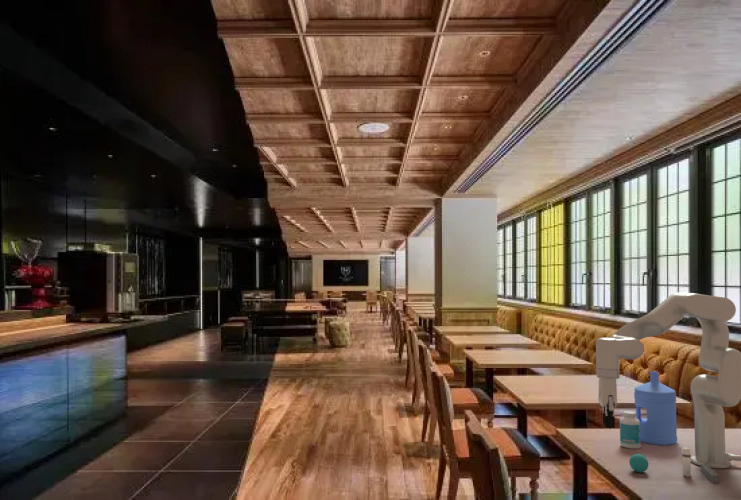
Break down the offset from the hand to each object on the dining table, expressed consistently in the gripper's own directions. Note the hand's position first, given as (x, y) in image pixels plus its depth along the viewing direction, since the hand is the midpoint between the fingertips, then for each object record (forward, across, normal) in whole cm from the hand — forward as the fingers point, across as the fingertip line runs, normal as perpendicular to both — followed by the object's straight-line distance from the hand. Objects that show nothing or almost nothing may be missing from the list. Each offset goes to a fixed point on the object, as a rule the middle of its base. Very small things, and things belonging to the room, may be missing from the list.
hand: (608, 425), depth 206 cm
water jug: (+15, -44, +24) cm, 53 cm away
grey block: (+15, 0, +32) cm, 35 cm away
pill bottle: (+15, -32, +12) cm, 38 cm away
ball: (+12, 0, +10) cm, 15 cm away
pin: (+15, 0, +24) cm, 29 cm away
